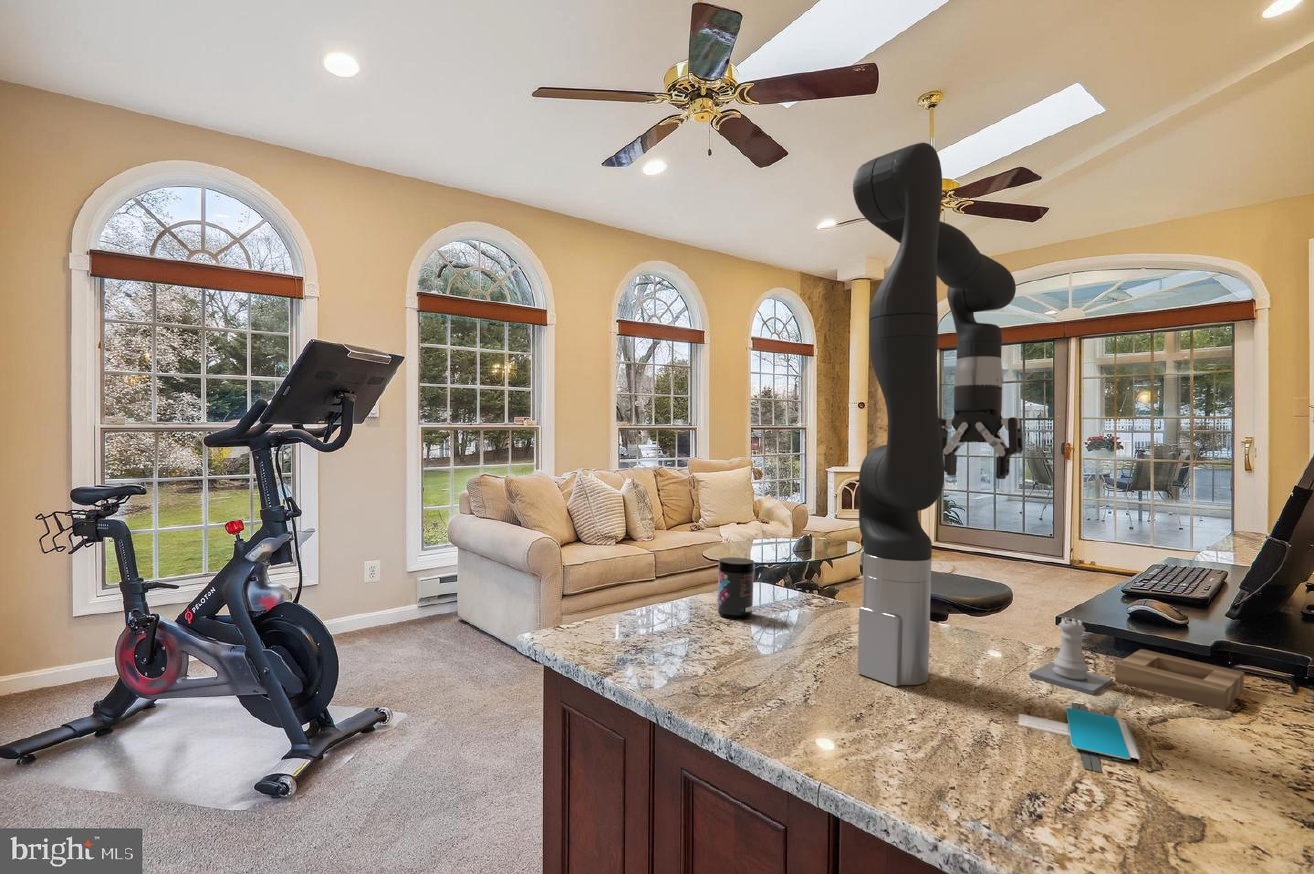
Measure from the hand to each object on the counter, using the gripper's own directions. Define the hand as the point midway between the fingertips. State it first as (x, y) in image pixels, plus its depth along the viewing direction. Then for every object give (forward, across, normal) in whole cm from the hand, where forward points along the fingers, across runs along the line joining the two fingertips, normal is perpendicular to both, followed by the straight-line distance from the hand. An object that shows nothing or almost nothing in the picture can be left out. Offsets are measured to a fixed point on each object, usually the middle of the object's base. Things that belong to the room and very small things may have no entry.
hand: (975, 477), depth 111 cm
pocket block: (+28, +28, +3) cm, 40 cm away
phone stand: (+29, +25, -27) cm, 47 cm away
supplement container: (+28, -33, -25) cm, 50 cm away
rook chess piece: (+28, +18, -8) cm, 34 cm away
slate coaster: (+28, +18, -8) cm, 34 cm away
